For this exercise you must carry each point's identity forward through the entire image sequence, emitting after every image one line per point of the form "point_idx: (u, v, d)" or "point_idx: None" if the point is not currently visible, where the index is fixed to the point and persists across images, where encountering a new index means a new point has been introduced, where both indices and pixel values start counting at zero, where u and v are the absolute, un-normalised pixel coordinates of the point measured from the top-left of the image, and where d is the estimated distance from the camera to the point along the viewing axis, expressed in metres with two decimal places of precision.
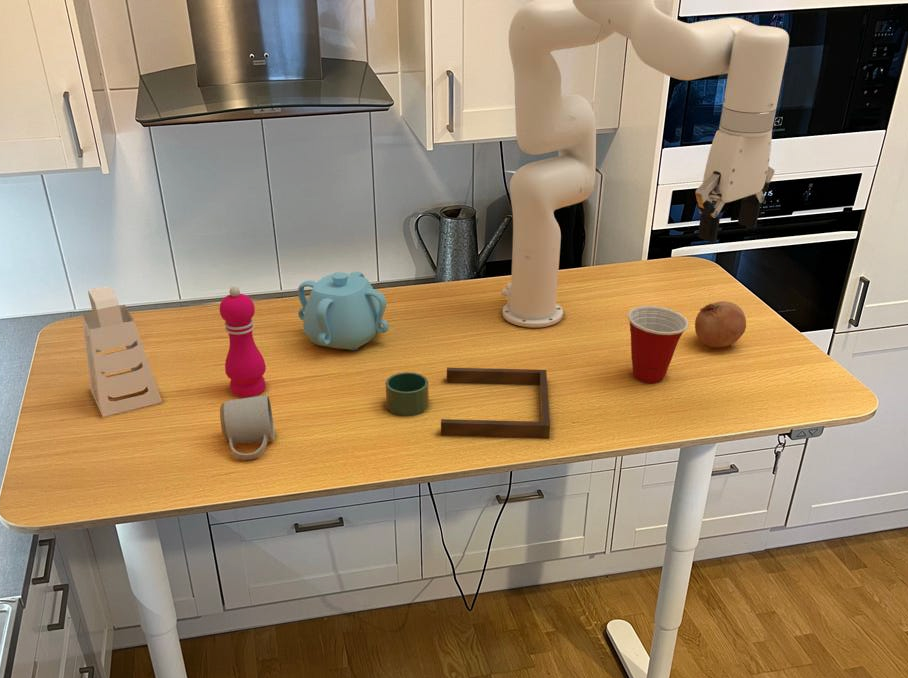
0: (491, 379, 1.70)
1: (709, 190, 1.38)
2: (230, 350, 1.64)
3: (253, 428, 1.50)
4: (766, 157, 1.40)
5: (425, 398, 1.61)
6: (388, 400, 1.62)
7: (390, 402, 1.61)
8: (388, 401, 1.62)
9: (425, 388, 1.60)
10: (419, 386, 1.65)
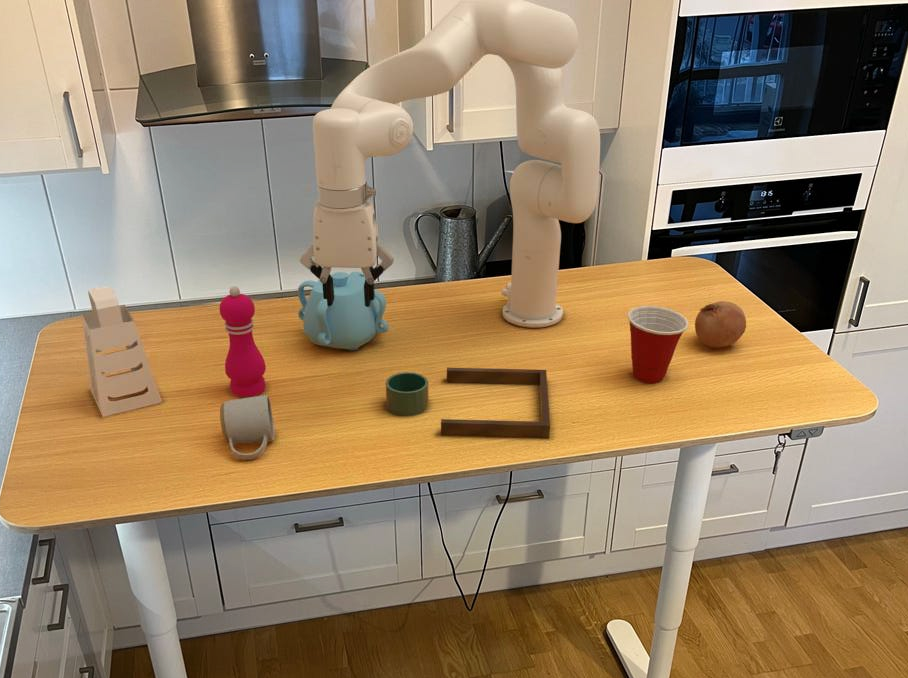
0: (491, 379, 1.70)
1: (308, 257, 1.49)
2: (230, 350, 1.64)
3: (253, 428, 1.50)
4: (363, 235, 1.44)
5: (425, 398, 1.61)
6: (388, 400, 1.62)
7: (390, 402, 1.61)
8: (388, 401, 1.62)
9: (425, 388, 1.60)
10: (419, 386, 1.65)
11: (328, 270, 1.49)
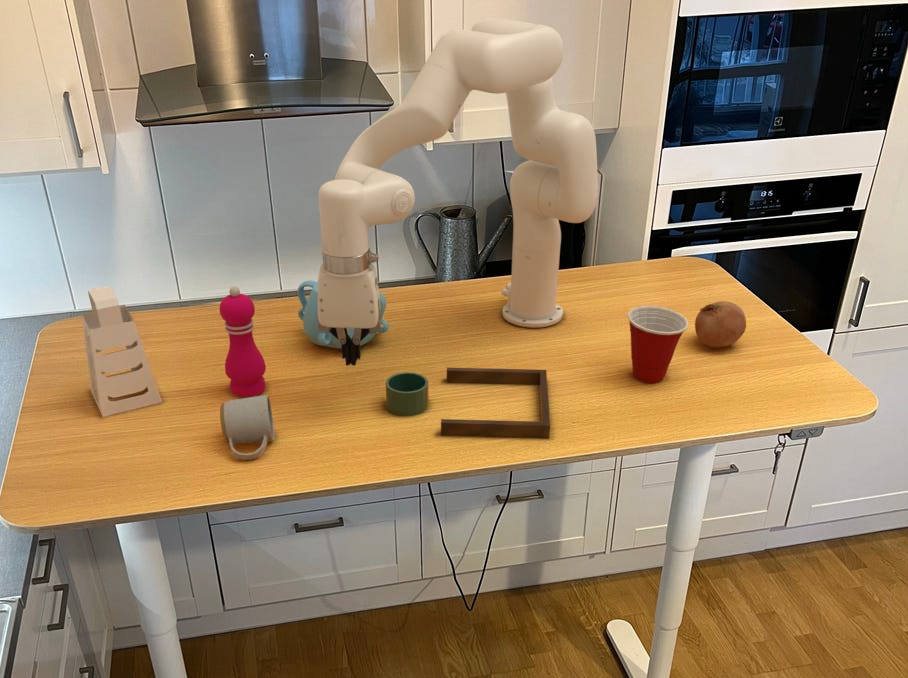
0: (491, 379, 1.70)
1: None
2: (230, 350, 1.64)
3: (253, 428, 1.50)
4: (366, 298, 1.50)
5: (425, 398, 1.61)
6: (388, 400, 1.62)
7: (390, 402, 1.61)
8: (388, 401, 1.62)
9: (425, 388, 1.60)
10: (419, 386, 1.65)
11: (342, 330, 1.55)
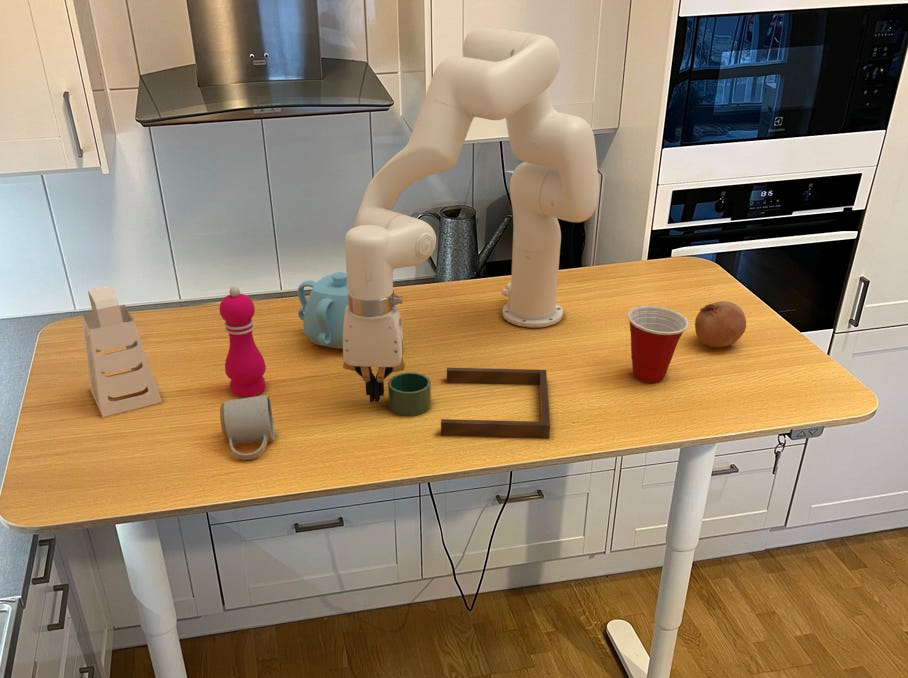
0: (491, 379, 1.70)
1: None
2: (230, 350, 1.64)
3: (253, 428, 1.50)
4: (390, 338, 1.54)
5: (428, 398, 1.61)
6: (391, 400, 1.61)
7: (392, 402, 1.61)
8: (391, 401, 1.62)
9: (428, 388, 1.60)
10: (422, 386, 1.65)
11: (366, 369, 1.59)
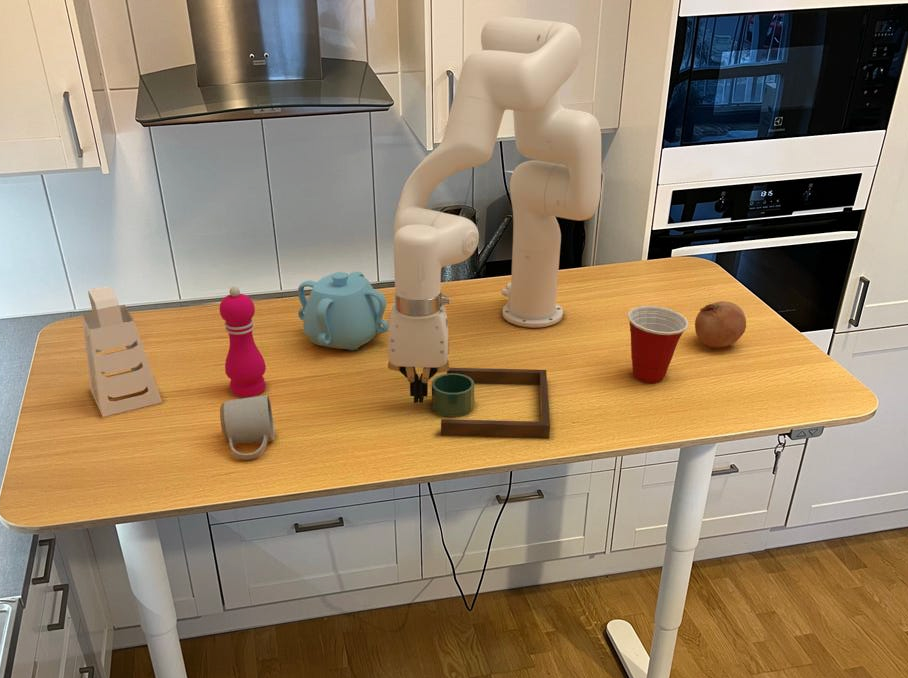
0: (491, 379, 1.70)
1: None
2: (230, 350, 1.64)
3: (253, 428, 1.50)
4: (436, 339, 1.54)
5: (472, 398, 1.61)
6: (435, 402, 1.61)
7: (437, 404, 1.61)
8: (435, 403, 1.61)
9: (472, 388, 1.60)
10: (463, 386, 1.65)
11: (411, 369, 1.58)
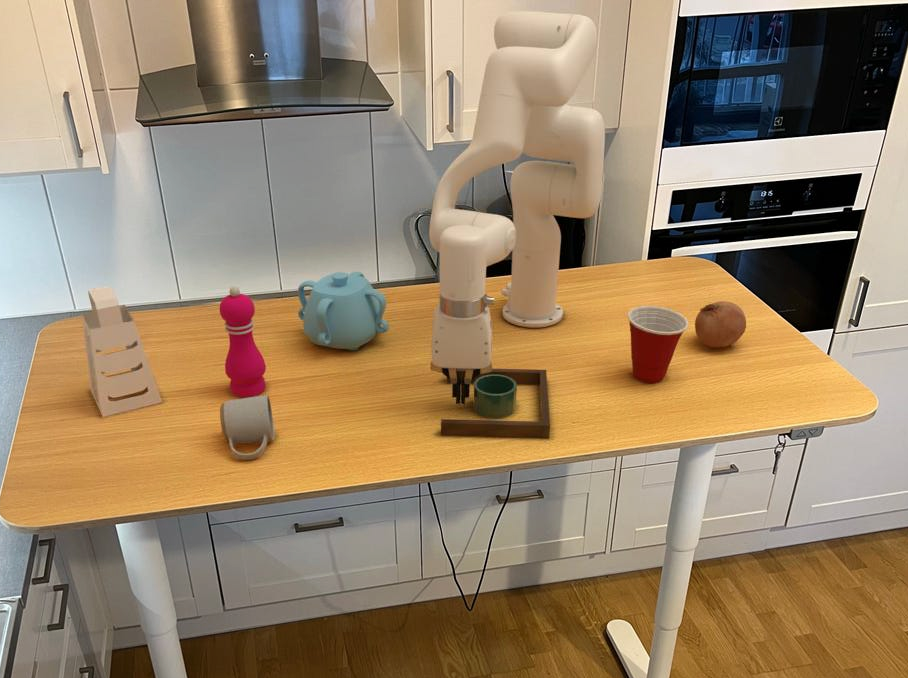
0: None
1: None
2: (230, 350, 1.64)
3: (253, 428, 1.50)
4: (481, 340, 1.53)
5: (515, 399, 1.61)
6: (478, 404, 1.60)
7: (480, 406, 1.60)
8: (478, 405, 1.60)
9: (515, 389, 1.60)
10: (504, 387, 1.64)
11: (454, 370, 1.58)
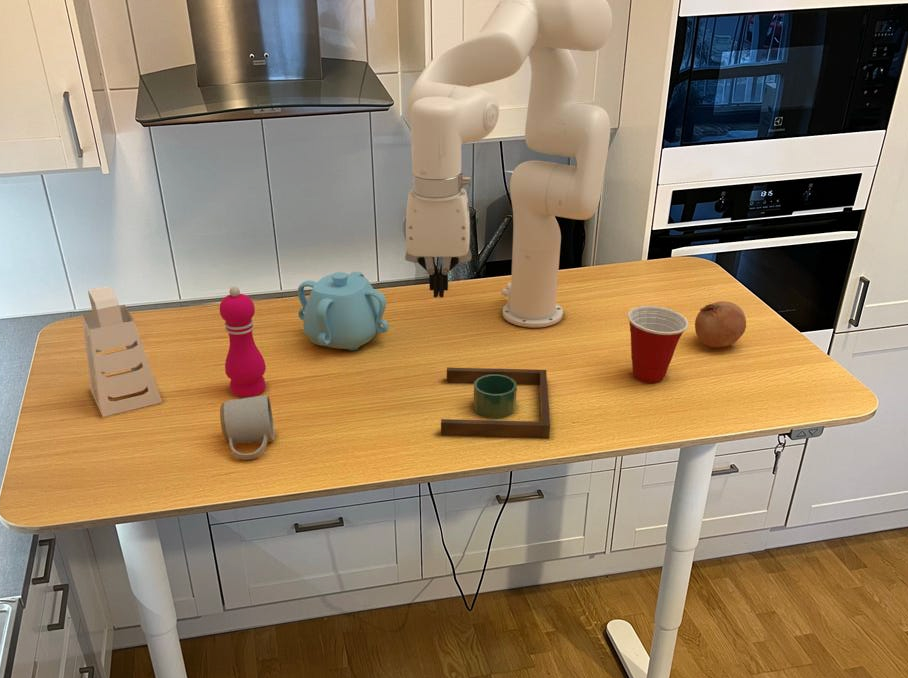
0: None
1: None
2: (230, 350, 1.64)
3: (253, 428, 1.50)
4: (457, 224, 1.44)
5: (515, 399, 1.61)
6: (478, 404, 1.60)
7: (480, 406, 1.60)
8: (478, 405, 1.60)
9: (515, 389, 1.60)
10: (504, 387, 1.64)
11: (431, 260, 1.48)
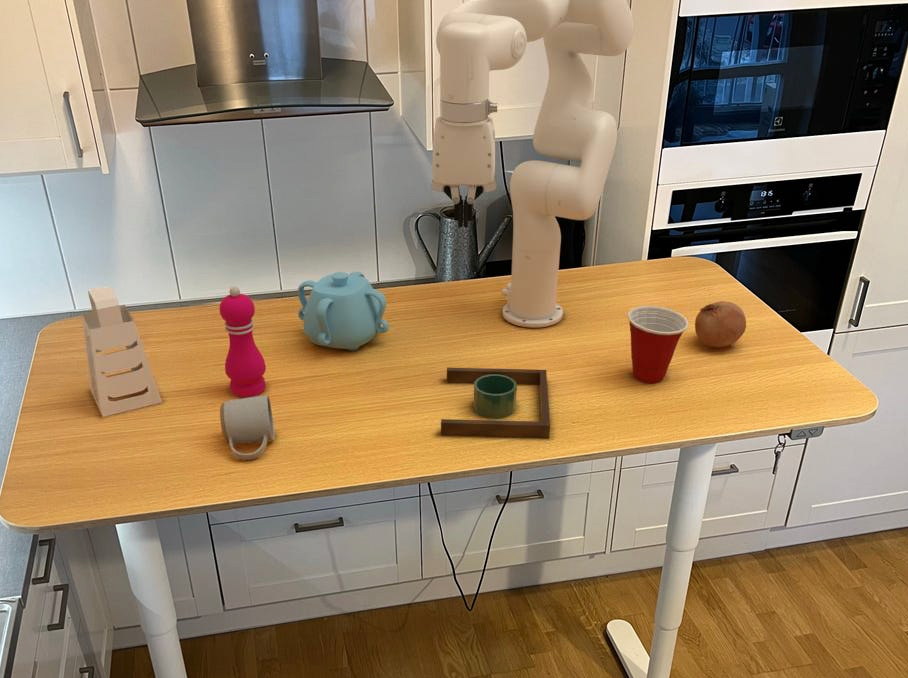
0: None
1: None
2: (230, 350, 1.64)
3: (253, 428, 1.50)
4: (484, 150, 1.46)
5: (515, 399, 1.61)
6: (478, 404, 1.60)
7: (480, 406, 1.60)
8: (478, 405, 1.60)
9: (515, 389, 1.60)
10: (504, 387, 1.64)
11: (456, 188, 1.51)
